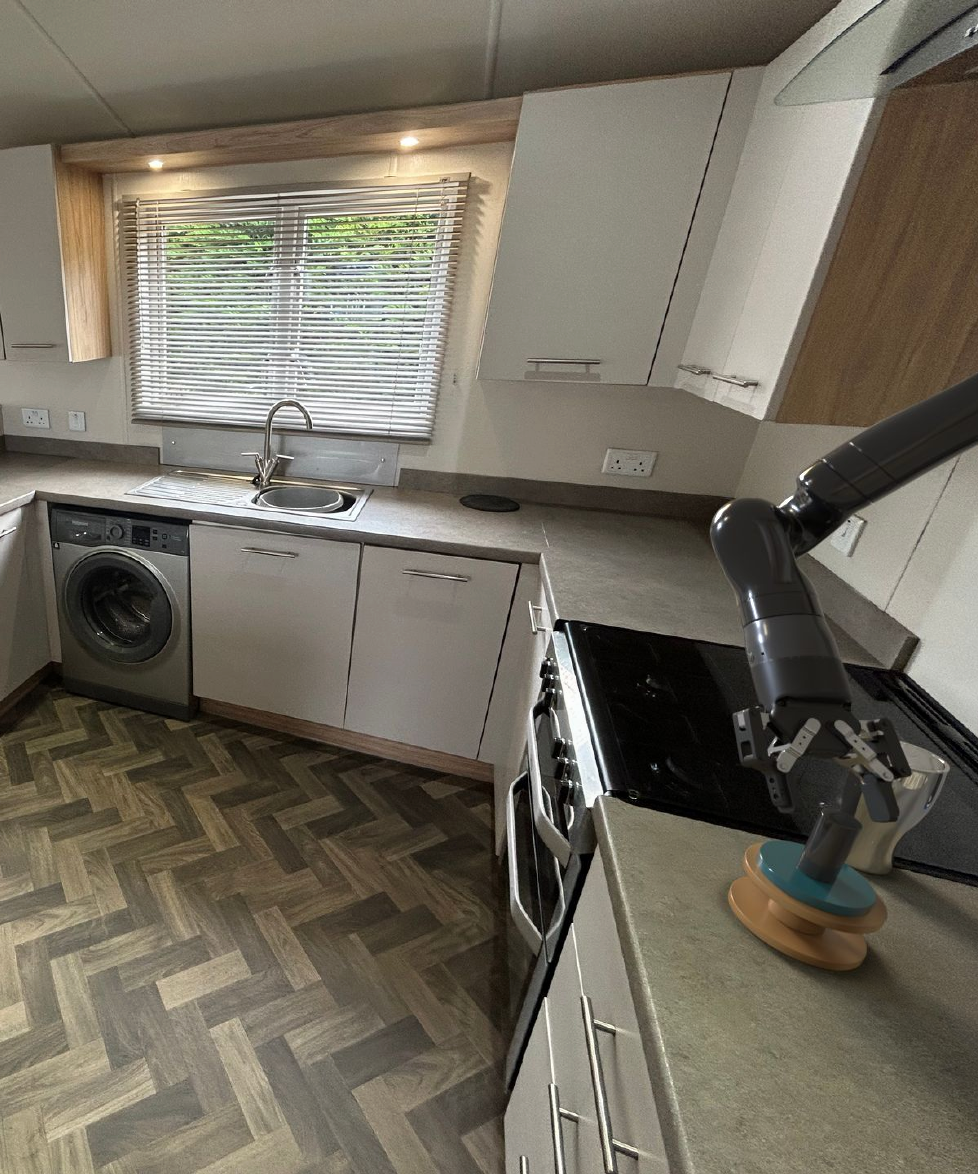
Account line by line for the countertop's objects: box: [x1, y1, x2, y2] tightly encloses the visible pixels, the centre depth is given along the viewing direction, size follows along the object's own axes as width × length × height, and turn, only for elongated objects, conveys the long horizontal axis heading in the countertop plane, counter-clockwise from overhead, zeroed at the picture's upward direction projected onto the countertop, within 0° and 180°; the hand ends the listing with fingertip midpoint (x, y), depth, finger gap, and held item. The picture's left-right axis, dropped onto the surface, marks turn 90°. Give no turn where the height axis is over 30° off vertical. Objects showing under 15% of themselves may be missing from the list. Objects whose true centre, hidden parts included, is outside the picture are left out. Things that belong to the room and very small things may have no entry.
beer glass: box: [839, 740, 951, 876], centre depth 74 cm, size 7×7×15 cm
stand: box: [727, 842, 889, 972], centre depth 67 cm, size 11×11×6 cm
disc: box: [756, 808, 877, 917], centre depth 64 cm, size 9×9×8 cm
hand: (837, 817), depth 63 cm, fingers open, 8 cm apart
